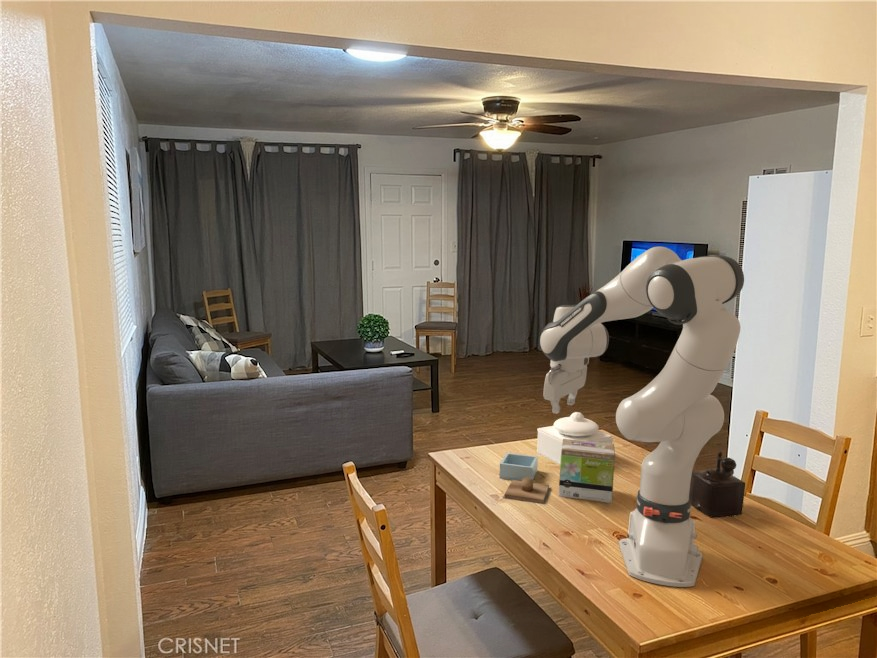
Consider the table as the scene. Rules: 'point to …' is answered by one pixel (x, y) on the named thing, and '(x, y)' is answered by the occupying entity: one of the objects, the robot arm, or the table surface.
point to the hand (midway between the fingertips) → (563, 408)
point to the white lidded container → (568, 435)
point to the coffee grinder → (717, 490)
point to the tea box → (587, 470)
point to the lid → (527, 490)
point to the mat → (530, 501)
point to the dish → (518, 466)
